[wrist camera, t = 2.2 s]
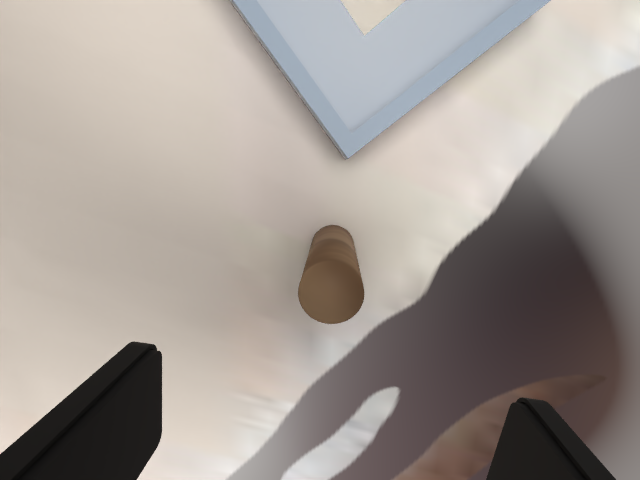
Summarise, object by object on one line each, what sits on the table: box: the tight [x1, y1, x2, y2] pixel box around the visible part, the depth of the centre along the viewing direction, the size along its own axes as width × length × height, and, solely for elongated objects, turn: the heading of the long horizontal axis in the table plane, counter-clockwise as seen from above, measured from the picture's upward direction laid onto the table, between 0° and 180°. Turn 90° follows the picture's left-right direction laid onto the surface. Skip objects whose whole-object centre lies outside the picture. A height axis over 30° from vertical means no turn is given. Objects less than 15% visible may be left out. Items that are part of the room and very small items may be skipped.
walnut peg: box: [298, 225, 364, 324], centre depth 21 cm, size 4×4×10 cm
